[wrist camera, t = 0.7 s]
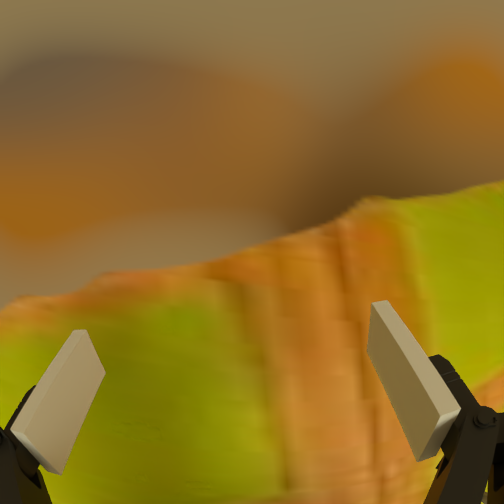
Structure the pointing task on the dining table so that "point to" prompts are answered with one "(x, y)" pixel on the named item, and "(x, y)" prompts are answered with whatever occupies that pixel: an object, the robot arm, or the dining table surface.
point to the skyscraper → (484, 498)
